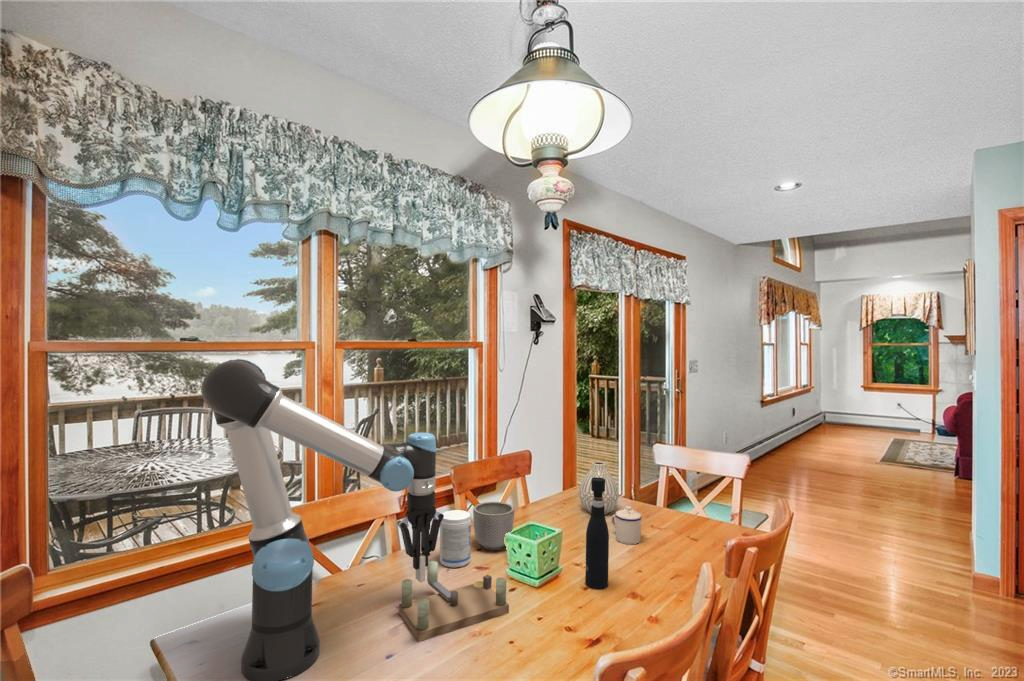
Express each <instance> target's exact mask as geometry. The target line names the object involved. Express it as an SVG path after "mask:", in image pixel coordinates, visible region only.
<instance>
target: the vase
mask: <svg viewBox="0 0 1024 681" xmlns="http://www.w3.org/2000/svg"><path fill="white" fill-rule="evenodd" d="M594 477H599V478H604V479H605V491H604V492H603V495H602V496H603V498H602V499H603V501H604V503H603V504H604V505H603V506H604V507H605V510H604V516H605V515H607V514H610V513H611V512H613V510H614V509H615V508H616V506H617V504H618V500H619V491H618V490H619V489H618V485H617V483H616V481H615V479H614V477H613V475H612V474H611V472H610V471H609V470H608V467H607V464H606V462H605V461H598V460H596V461H592V463H591V466H590V468H589V470H588V471H587V472H586V474H585V475H584V477H583V478H582V480H581V483H580V486H579V490H578V496H579V500H580V503H581V505H582V507H583V508H584V509H585V510H586V512H588V513H590V514H591V506H592V505H593V504H592V503H593V502H592V500H593V498H594V497H593V496H594V491H592V490H591V479H592V478H594Z"/></svg>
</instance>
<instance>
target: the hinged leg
mask: <svg viewBox="0 0 1024 681" xmlns="http://www.w3.org/2000/svg"><path fill="white" fill-rule="evenodd" d="M426 567H427V568H426V571H427V572H426V573H427V574H426V582H427V585H429V586H430V587H431V588H432V589H434V591H436V592H437V594H440V595H441V596H442V597H444V598H445V599H446V600H447V601H448V602H449V601H451V592H450V591H449V589H448V588H446V587H445V586H444V585H443V584H441V583H440V582H439V581H438V580H439V578H438V577H439V576H438V574H439V571H438V570H439V562H438V561H436V560H431V561H428V566H426Z"/></svg>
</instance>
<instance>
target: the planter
mask: <svg viewBox="0 0 1024 681" xmlns="http://www.w3.org/2000/svg"><path fill="white" fill-rule="evenodd" d="M472 517H473V518H472V519H473V520H472V522H473V531H474V537H475V541H477V543H478V544H480V546H482V548H483V549H484V550H486V549H487V550H486V551H490V550H492V551H493V550H497V551H500V550H502V549H503V548H504V547H505V546H506V545H505V544H504V537H505V534H506V533H508V532H511V531H512V530H513V531H514V520H515V507H514V506H513V505H511V504H509V503H506V502H502V501H486V502H480V503H478V504H476V505H475V506H474V507H473V510H472ZM493 552H494V551H493Z"/></svg>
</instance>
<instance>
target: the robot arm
mask: <svg viewBox="0 0 1024 681" xmlns="http://www.w3.org/2000/svg"><path fill="white" fill-rule="evenodd" d="M200 392H201V396H202V397H201V398H202V399H203V401H204V403H205V405H206V406H207V407H209V408H210V410H211V411H212V412H213V415H214V418H215V422H216V425H217V426H218V427H220V428H222V429H225V431H226V432H227V438H228V440H229V443H230V447H231V451H232V454H233V457H234V458H233V459H234V461H235V466H236V470H237V474H238V477H239V479H240V484H241V487H242V492H243V494H244V499H245V501H246V505H247V509H248V512H249V516H250V519H251V524H252V529H250V530H251V531H250V532H249V534H248V536H247V538H248V541H249V545H250V548H251V553H252V556H253V564H252V566H251V576H252V592H251V594H252V596H251V597H252V599H251V601H252V602H251V603H252V604H251V629H250V632H249V635H248V638H247V640H246V644H245V647H244V648H243V652H242V655H241V659H240V660H241V662H240V663H241V665H240V669H241V674H242V676H243V677H244V678H246V679H247V680H248V681H277V680H281V681H283V680H282V679H285V678H287V677H290V676H293V677H295V676H298V675H299V674H302V672H305V671H306V670H307V669H310V667H311V666H312V665H313V664H314V663H315V662H316V661H317V659H318V657H319V655H320V648H321V646H320V645H321V642H320V641H321V640H320V636H319V634H318V630H317V629H316V625H315V623H314V619H313V614H312V613H313V612H312V611H313V572H314V571H313V570H314V569H313V568H314V563H315V559H314V554H313V548H312V546H311V545H310V541H309V540H310V539H309V537H308V535H307V534H306V532H305V531H306V530H305V528H304V525H303V520H302V517H301V515H300V514H298V513H295V512H293V511H292V510H293V509H292V507H291V503H290V499H289V495H288V491H287V488H286V484H285V480H284V477H283V473H282V469H281V464H280V461H279V457H278V454H277V450H276V447H275V441H274V439H273V435H272V432H273V433H274V434H277V435H279V436H282V437H284V438H286V439H288V440H290V441H291V442H294V443H296V444H298V445H301V446H302V447H304V448H307V449H309V450H311V451H313V452H315V453H318V454H319V455H321V456H324V457H326V458H328V459H330V460H332V461H334V462H336V463H338V464H340V465H343V466H345V467H348V468H349V469H351V470H354V471H356V472H358V473H360V474H362V475H363V476H366V477H368V478H369V479H372V480H373V481H376V482H378V483H380V484H381V486H383V487H384V488H385V489H387V490H388V491H391V492H401V491H404V490H406V491H407V493H406V513H405V516H404V518H402V520H398V521H397V526H398V528H399V530H400V532H401V536H402V539H403V540H402V541H403V545H404V549H405V553H406V555H407V556H409V557H410V558H412V568H413V569H414V570H415V580H417V581H418V582H419V583H423V582H425V581H426V567H427V566H428V562H429V557H430V556H431V553H432V552H434V551H435V550H436V546H437V542H438V537H439V533H440V523H441V521H442V519H443V517H444V515H443V514H442V513H443V512H442V513H441V512H440V511H437V508H436V506H435V505H436V491H435V490H436V480H437V479H436V477H437V476H436V467H437V466H436V464H437V463H436V462H437V442H436V441H437V440H436V436H435V434H433V433H430V432H415V433H411V434H409V435H407V440H406V441H405V442H400V443H399V442H397V443H396V442H395V443H382V444H381V443H377V442H375V441H373V440H371V439H369V438H367V437H365V436H364V435H361V434H359V433H358V432H356V431H354V430H351V429H350V428H348V427H346V426H344V425H342V424H340V423H338V422H336V421H334V420H332V419H330V418H329V417H326V416H325V415H322V414H320V413H318V412H316V411H315V410H313V409H311V408H309V407H307V406H305V405H303V404H301V403H298V402H297V401H295V400H293V399H291V398H289V397H287V396H286V395H284V394H283V391H282V388H281V387H279V386H278V385H277V386H276V384H273V383H271V382H270V381H269V380H267V378H266V375H265V373H264V372H263V370H262V369H261V367H260V366H259V365H257V364H256V363H254V362H252V361H250V360H247V359H242V358H241V359H240V358H237V359H230V360H227V361H226V360H225V361H223V362H221V363H220V364H217V365H215V366H214V367H212V368H211V369H210V370H209V371H208V372H207V373H206V375H205V376H204V377H203V380H202V384H201V390H200ZM409 524H410V525H411V531H412V536H411V533H410V529H409ZM294 675H295V676H294ZM285 680H286V679H285Z"/></svg>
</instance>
